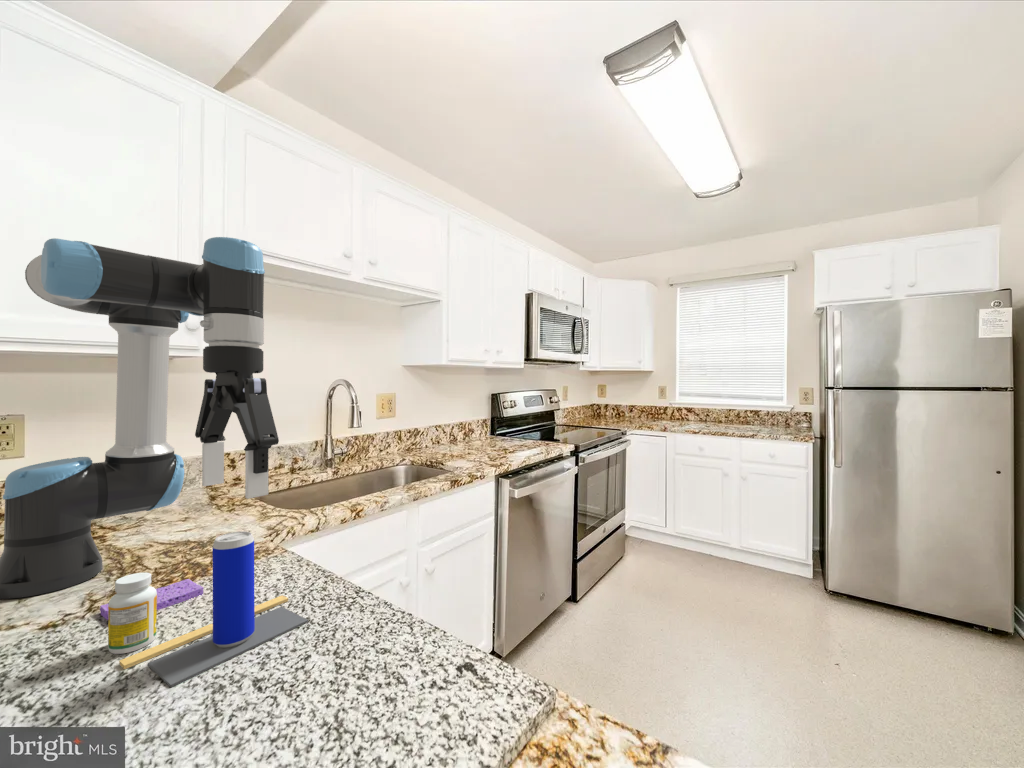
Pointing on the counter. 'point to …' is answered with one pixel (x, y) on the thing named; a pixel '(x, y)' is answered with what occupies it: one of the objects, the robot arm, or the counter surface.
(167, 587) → the sponges
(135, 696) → the counter surface
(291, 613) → the mat
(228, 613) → the beverage can
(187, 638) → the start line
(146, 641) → the supplement bottle
